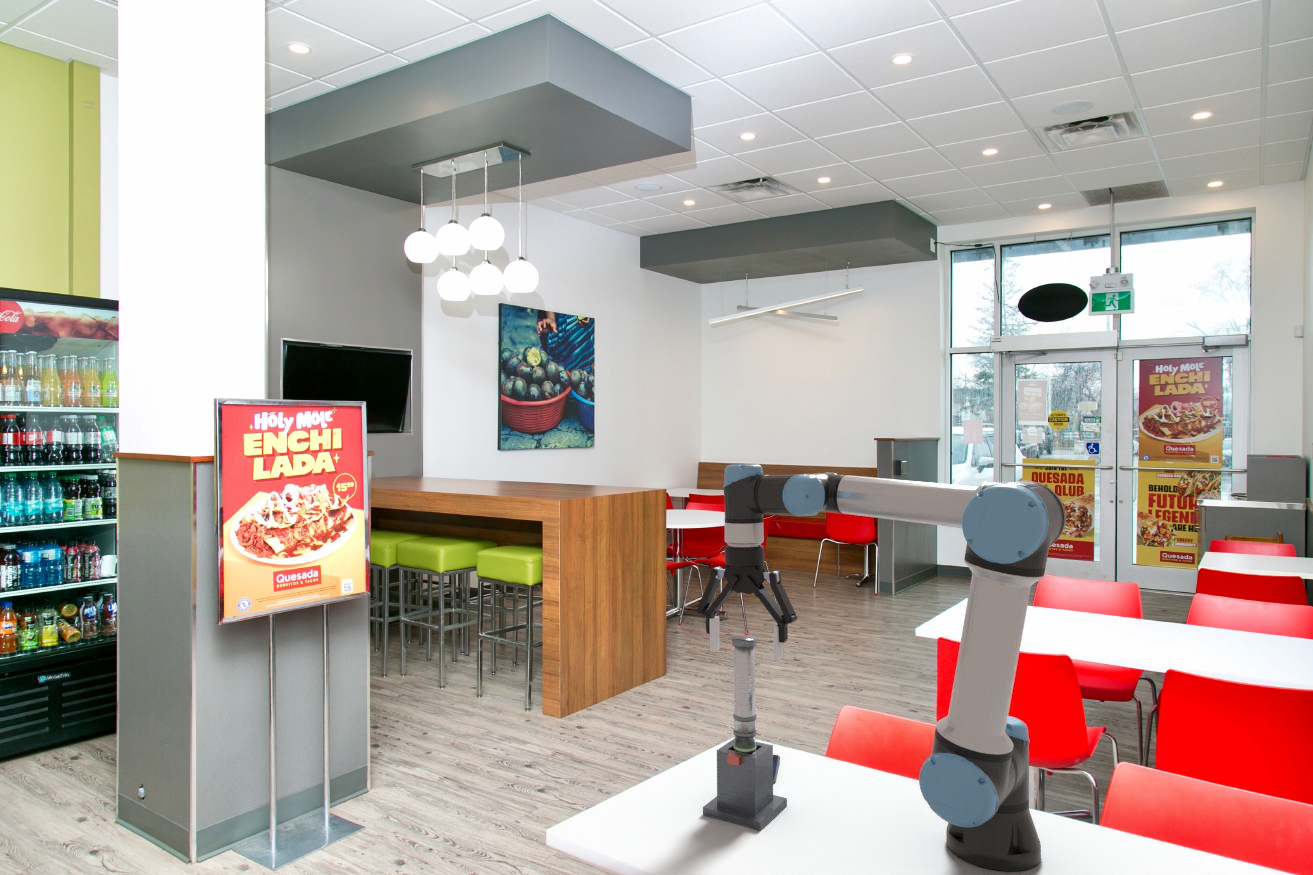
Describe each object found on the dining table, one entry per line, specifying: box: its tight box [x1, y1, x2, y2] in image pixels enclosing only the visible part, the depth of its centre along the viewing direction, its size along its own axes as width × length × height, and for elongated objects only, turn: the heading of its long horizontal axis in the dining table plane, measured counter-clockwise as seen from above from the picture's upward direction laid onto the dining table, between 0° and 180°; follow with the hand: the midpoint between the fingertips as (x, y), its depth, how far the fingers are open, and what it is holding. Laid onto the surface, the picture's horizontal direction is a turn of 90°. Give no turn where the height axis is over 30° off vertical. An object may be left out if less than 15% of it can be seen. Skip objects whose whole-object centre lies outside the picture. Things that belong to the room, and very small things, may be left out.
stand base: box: [702, 737, 788, 832], centre depth 156 cm, size 12×12×12 cm
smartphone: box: [773, 754, 781, 785], centre depth 176 cm, size 7×1×15 cm
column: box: [731, 635, 758, 754], centre depth 156 cm, size 5×5×23 cm
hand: (746, 655), depth 156 cm, fingers open, 13 cm apart
